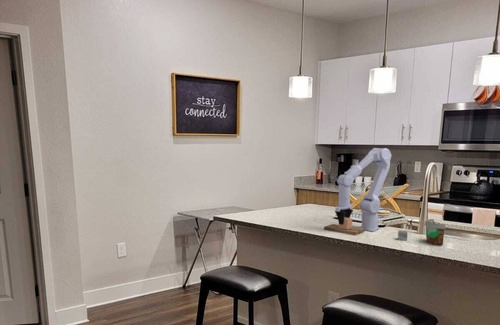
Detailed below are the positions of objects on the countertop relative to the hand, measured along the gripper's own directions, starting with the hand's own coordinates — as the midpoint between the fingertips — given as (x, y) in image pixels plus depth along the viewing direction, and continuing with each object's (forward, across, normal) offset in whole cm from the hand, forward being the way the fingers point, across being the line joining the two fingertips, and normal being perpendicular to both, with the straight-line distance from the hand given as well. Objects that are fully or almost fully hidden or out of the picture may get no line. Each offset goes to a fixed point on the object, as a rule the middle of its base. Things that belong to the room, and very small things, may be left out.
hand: (343, 223), depth 199 cm
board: (+4, 0, 0) cm, 4 cm away
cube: (+2, 0, -1) cm, 2 cm away
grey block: (+4, +5, -29) cm, 30 cm away
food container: (+4, +9, -41) cm, 42 cm away
